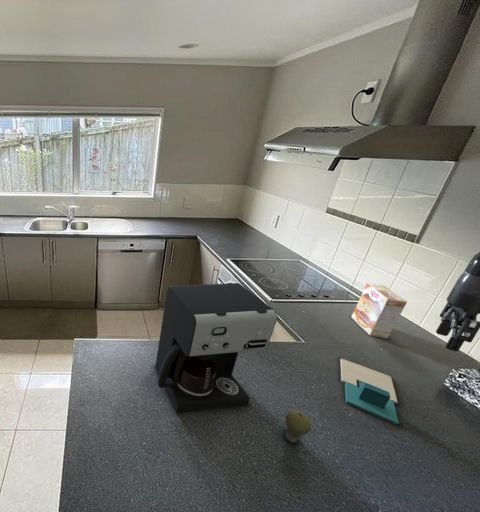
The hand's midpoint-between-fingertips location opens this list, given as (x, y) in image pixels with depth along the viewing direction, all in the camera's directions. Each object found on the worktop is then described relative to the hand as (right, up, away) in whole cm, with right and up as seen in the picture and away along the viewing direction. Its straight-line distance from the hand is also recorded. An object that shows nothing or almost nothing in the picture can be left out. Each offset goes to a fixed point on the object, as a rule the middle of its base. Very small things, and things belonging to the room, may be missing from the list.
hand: (445, 341), depth 79 cm
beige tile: (-3, -21, +21) cm, 29 cm away
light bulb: (-44, -28, 0) cm, 52 cm away
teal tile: (-9, -23, +13) cm, 28 cm away
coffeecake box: (+27, -10, +51) cm, 58 cm away
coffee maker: (-66, -20, +15) cm, 71 cm away
